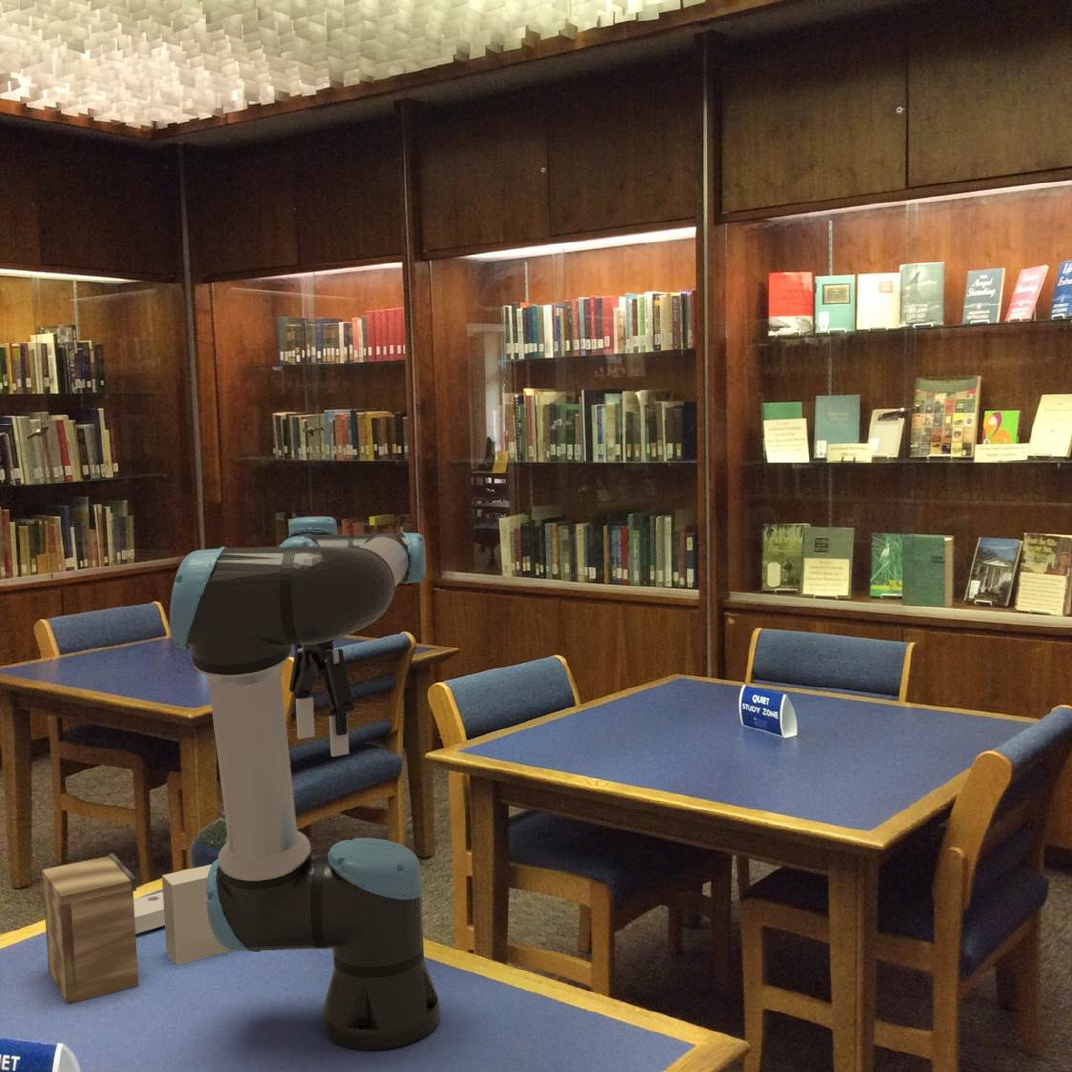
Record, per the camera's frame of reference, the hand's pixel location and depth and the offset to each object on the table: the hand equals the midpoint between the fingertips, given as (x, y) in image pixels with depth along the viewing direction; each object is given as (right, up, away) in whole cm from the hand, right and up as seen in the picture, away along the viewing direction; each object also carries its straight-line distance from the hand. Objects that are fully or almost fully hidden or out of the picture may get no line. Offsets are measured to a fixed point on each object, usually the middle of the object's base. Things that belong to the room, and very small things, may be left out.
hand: (322, 746), depth 197 cm
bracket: (-29, -28, -4) cm, 41 cm away
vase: (-17, -26, +13) cm, 34 cm away
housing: (-29, -30, -21) cm, 47 cm away
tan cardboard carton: (-15, -28, -13) cm, 35 cm away
